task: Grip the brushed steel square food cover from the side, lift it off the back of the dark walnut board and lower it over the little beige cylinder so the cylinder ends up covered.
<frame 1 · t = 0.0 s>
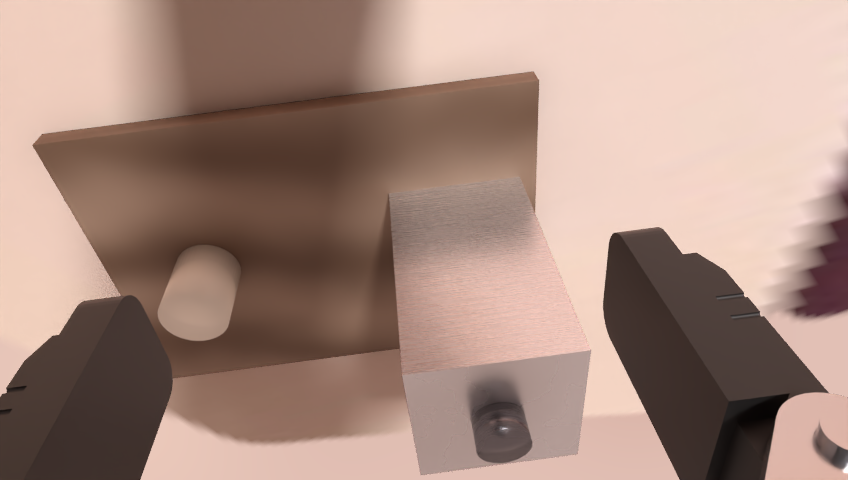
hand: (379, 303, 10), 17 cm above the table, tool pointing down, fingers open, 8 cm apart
steel cover: (458, 236, 30), point 1 cm above the table, touching walnut board
walnut board: (325, 241, 31), on the table
beige cylinder: (209, 268, 30), point 1 cm above the table, touching walnut board
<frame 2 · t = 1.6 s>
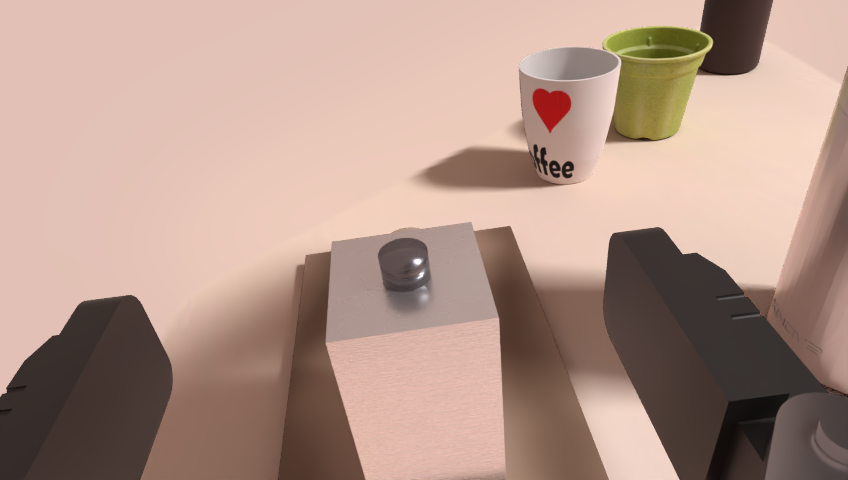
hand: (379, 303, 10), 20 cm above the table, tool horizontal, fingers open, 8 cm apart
bottle: (725, 66, 69), on the table
plant pot: (645, 129, 58), on the table
steel cover: (432, 438, 30), point 1 cm above the table, touching walnut board
walnut board: (422, 353, 36), on the table
cup: (564, 172, 53), on the table
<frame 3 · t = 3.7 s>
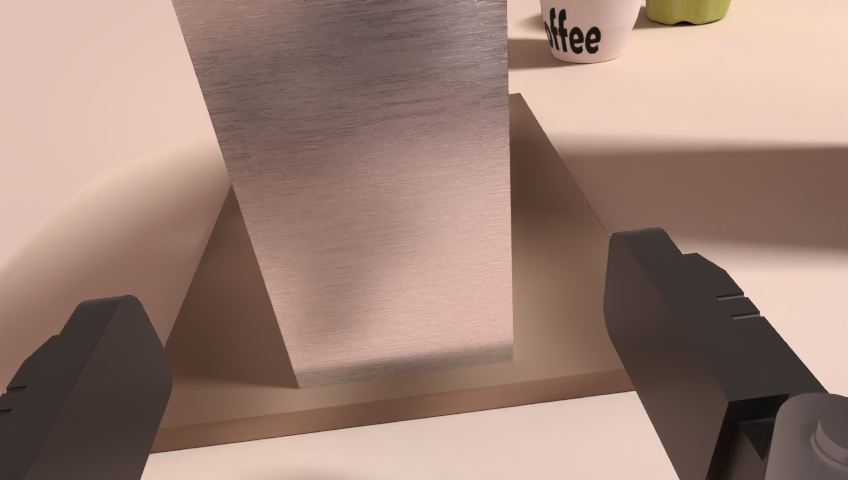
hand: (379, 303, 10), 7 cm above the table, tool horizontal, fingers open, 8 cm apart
plant pot: (684, 18, 48), on the table
steel cover: (401, 305, 20), point 1 cm above the table, touching walnut board
walnut board: (397, 221, 26), on the table
cup: (587, 54, 43), on the table
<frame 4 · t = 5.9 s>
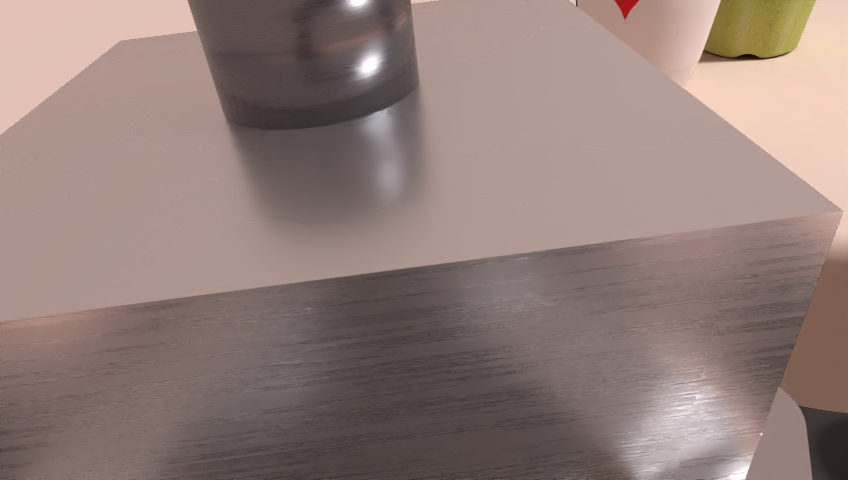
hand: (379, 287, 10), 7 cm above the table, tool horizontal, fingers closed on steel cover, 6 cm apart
plant pot: (744, 49, 40), on the table
cup: (635, 97, 35), on the table
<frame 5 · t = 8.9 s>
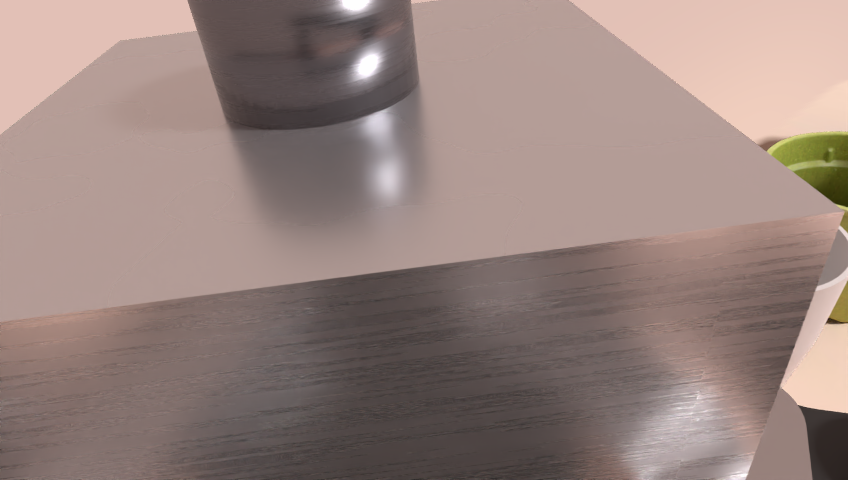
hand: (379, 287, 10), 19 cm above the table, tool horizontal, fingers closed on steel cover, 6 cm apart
plant pot: (816, 293, 36), on the table
cup: (704, 388, 31), on the table
when the fingers open (8 cm above the table, at t = 11.9 s): steel cover stays where it is, resting on walnut board.
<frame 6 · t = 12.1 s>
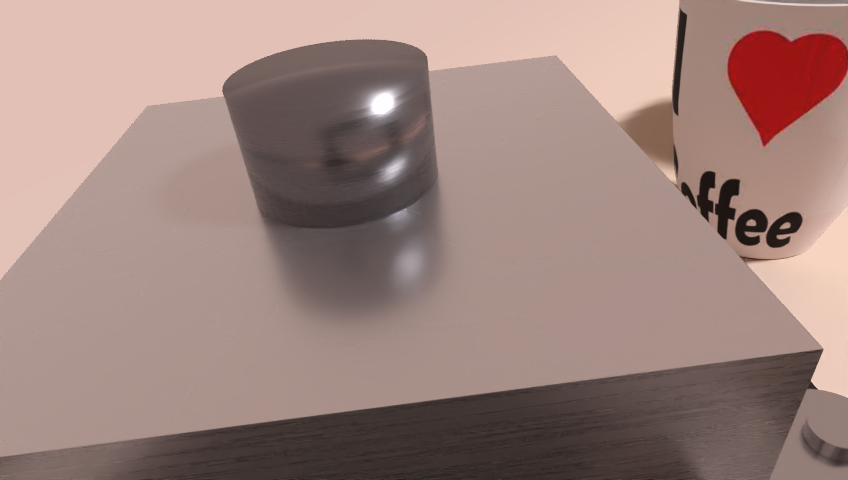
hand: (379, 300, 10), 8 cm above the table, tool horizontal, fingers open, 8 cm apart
cup: (747, 227, 25), on the table
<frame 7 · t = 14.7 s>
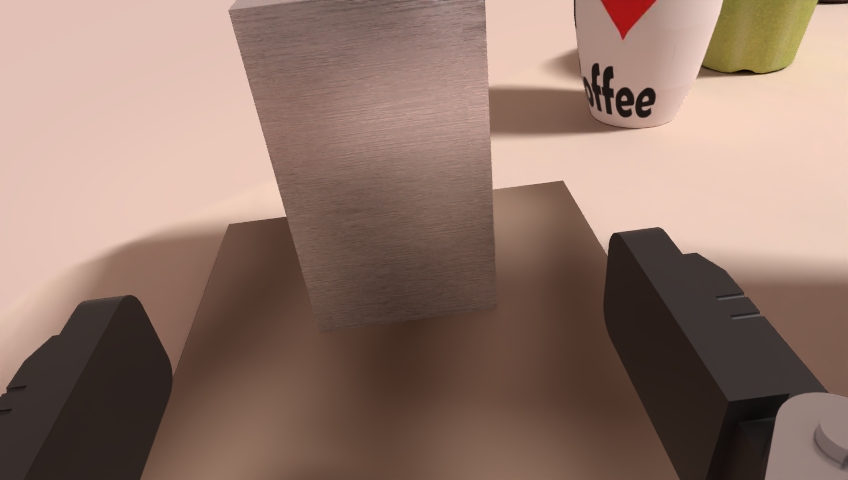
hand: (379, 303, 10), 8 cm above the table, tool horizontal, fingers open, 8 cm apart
plant pot: (740, 63, 41), on the table
steel cover: (403, 266, 23), point 1 cm above the table, touching walnut board
walnut board: (414, 398, 19), on the table
cup: (633, 113, 36), on the table
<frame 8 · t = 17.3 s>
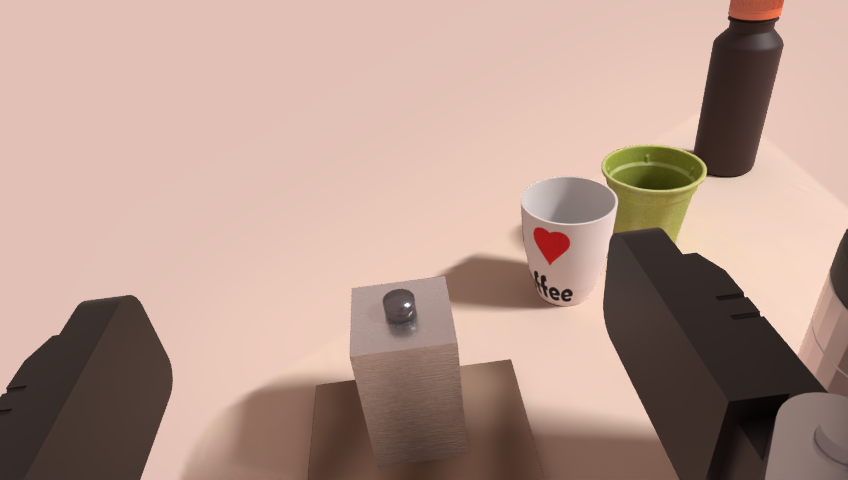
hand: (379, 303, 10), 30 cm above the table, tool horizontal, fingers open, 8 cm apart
bottle: (721, 166, 71), on the table
plant pot: (642, 241, 60), on the table
steel cover: (419, 423, 43), point 1 cm above the table, touching walnut board
cup: (564, 290, 55), on the table
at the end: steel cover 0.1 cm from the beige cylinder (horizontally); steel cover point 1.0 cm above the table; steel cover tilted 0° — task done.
